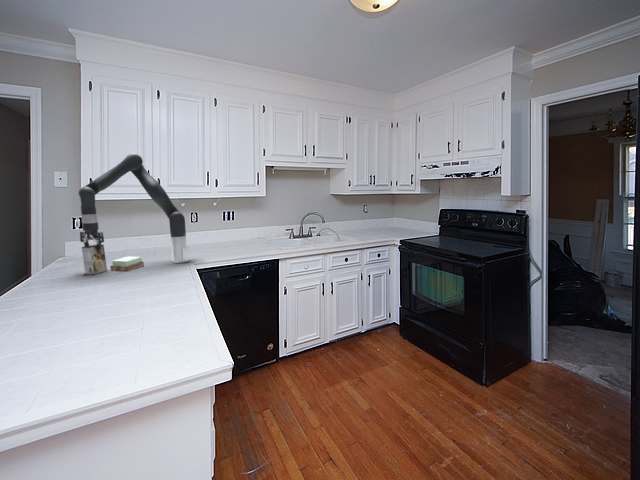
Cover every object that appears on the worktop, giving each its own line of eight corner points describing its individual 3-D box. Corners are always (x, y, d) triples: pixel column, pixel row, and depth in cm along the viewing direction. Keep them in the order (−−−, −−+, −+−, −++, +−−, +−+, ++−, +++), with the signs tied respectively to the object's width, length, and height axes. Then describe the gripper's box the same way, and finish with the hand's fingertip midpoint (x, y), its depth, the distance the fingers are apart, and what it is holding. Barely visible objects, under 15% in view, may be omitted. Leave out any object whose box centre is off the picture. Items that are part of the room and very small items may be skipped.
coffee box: (98, 270, 195) (95, 244, 192) (107, 270, 194) (104, 244, 191) (84, 274, 186) (81, 246, 184) (94, 274, 185) (90, 247, 182)
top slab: (141, 261, 203) (141, 257, 203) (126, 266, 192) (126, 261, 191) (128, 261, 206) (128, 256, 205) (112, 265, 194) (112, 260, 194)
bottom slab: (144, 266, 204) (143, 261, 204) (127, 272, 192) (127, 266, 191) (128, 266, 207) (127, 260, 206) (111, 271, 194) (110, 265, 194)
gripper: (105, 221, 187) (108, 248, 190) (86, 221, 190) (89, 247, 193) (94, 223, 180) (97, 251, 183) (73, 222, 183) (77, 250, 186)
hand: (93, 249), depth 188 cm, fingers open, 8 cm apart
